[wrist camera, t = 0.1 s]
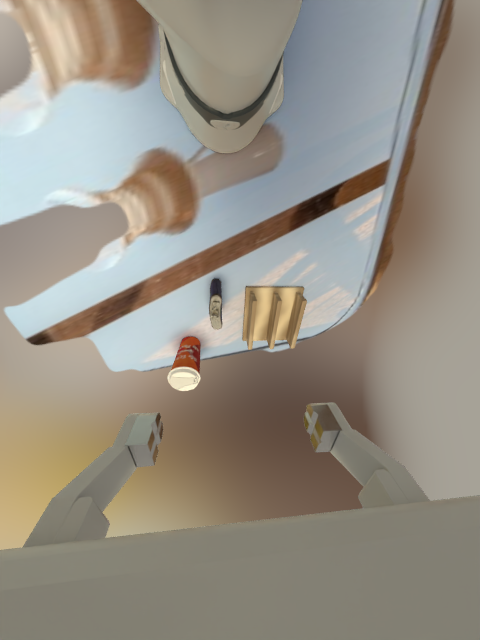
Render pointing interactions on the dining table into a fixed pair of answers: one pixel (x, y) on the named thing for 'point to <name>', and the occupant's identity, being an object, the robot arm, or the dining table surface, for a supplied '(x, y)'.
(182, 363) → the paper cup
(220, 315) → the flask
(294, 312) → the rack
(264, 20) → the robot arm
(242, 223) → the dining table surface
